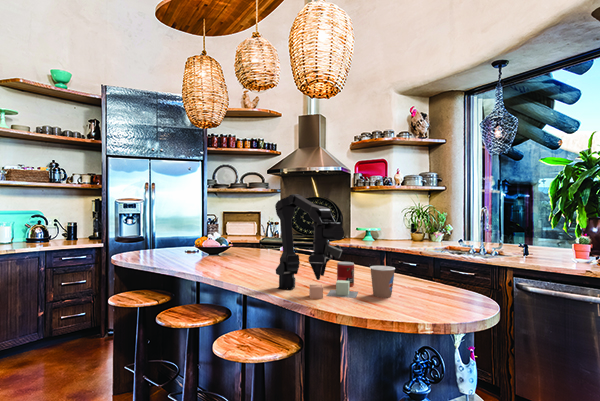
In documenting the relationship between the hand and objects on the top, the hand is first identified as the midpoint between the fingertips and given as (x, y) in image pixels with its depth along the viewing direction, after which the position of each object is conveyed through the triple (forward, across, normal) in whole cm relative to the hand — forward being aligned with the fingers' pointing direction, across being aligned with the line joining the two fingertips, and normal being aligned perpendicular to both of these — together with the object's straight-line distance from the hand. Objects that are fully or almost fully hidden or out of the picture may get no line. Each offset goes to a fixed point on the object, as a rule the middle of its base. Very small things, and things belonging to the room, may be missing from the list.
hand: (320, 277), depth 147 cm
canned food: (+8, +26, -7) cm, 28 cm away
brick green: (+8, +8, -8) cm, 14 cm away
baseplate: (+8, +8, -8) cm, 14 cm away
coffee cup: (+8, +10, -24) cm, 27 cm away
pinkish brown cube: (+8, -1, +1) cm, 8 cm away
